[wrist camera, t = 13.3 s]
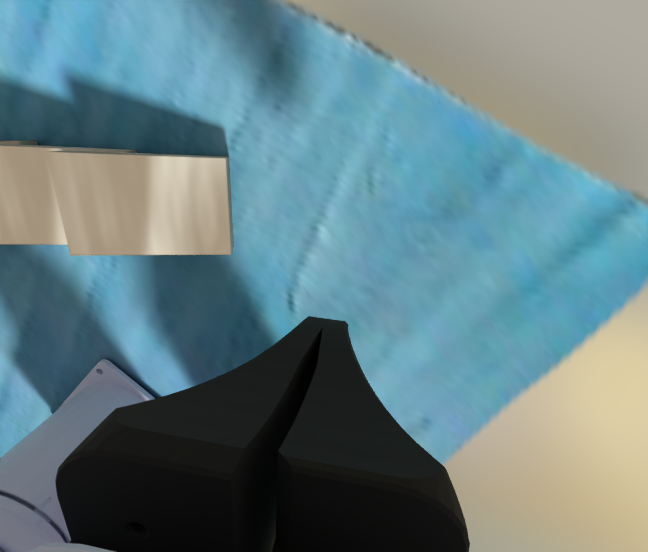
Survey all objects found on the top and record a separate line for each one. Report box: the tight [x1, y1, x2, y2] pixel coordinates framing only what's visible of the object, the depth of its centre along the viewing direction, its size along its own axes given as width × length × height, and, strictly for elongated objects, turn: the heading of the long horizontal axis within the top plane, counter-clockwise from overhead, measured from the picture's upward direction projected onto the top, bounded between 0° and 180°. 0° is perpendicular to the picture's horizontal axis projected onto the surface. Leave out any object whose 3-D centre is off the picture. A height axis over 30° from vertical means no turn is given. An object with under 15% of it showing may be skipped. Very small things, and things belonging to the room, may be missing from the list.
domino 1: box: [0, 144, 137, 245], centre depth 19 cm, size 2×5×8 cm
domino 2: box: [46, 150, 234, 255], centre depth 18 cm, size 2×5×8 cm
